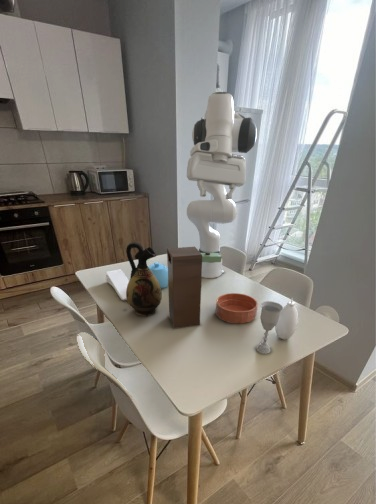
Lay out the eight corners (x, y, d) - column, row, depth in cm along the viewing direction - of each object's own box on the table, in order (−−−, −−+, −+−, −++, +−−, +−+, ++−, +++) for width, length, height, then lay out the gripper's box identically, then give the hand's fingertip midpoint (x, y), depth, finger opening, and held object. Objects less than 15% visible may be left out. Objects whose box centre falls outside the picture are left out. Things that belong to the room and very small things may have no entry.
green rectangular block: (185, 258, 110) (186, 250, 108) (217, 258, 113) (218, 250, 111) (188, 262, 106) (188, 254, 105) (221, 262, 109) (222, 254, 108)
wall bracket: (139, 308, 142) (121, 281, 160) (142, 295, 138) (123, 269, 157) (120, 308, 137) (103, 280, 155) (122, 295, 133) (105, 268, 151)
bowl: (210, 307, 133) (211, 295, 129) (245, 303, 136) (247, 291, 133) (223, 326, 118) (225, 314, 115) (262, 321, 122) (264, 309, 119)
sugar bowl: (177, 285, 152) (177, 264, 145) (152, 292, 145) (150, 270, 138) (163, 276, 162) (162, 256, 156) (139, 282, 155) (137, 261, 149)
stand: (169, 316, 125) (166, 248, 109) (193, 313, 128) (194, 246, 111) (173, 328, 117) (172, 256, 101) (199, 324, 120) (202, 254, 103)
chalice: (249, 349, 106) (256, 306, 96) (259, 341, 110) (267, 299, 100) (267, 357, 102) (276, 313, 92) (276, 349, 106) (286, 306, 96)
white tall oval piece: (291, 346, 108) (302, 303, 98) (270, 340, 111) (279, 298, 101) (295, 335, 113) (306, 294, 103) (275, 330, 116) (284, 289, 106)
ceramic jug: (166, 304, 134) (164, 239, 117) (156, 321, 122) (152, 251, 105) (132, 300, 137) (125, 236, 121) (119, 316, 125) (109, 247, 108)
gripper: (241, 159, 99) (238, 202, 102) (185, 150, 93) (184, 196, 96) (251, 153, 93) (248, 199, 97) (192, 142, 87) (190, 192, 90)
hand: (216, 197), depth 96 cm, fingers open, 8 cm apart
